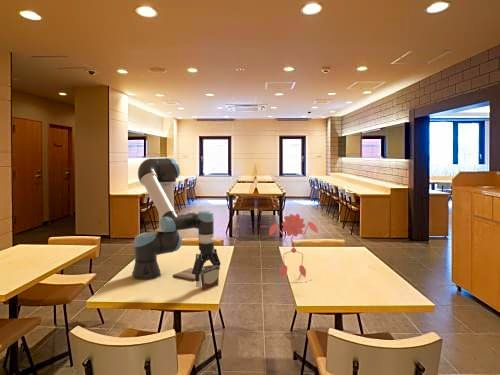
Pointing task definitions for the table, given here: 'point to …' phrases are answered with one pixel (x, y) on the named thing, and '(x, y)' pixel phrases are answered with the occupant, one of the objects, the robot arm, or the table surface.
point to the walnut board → (186, 275)
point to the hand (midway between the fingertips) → (207, 283)
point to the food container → (209, 276)
